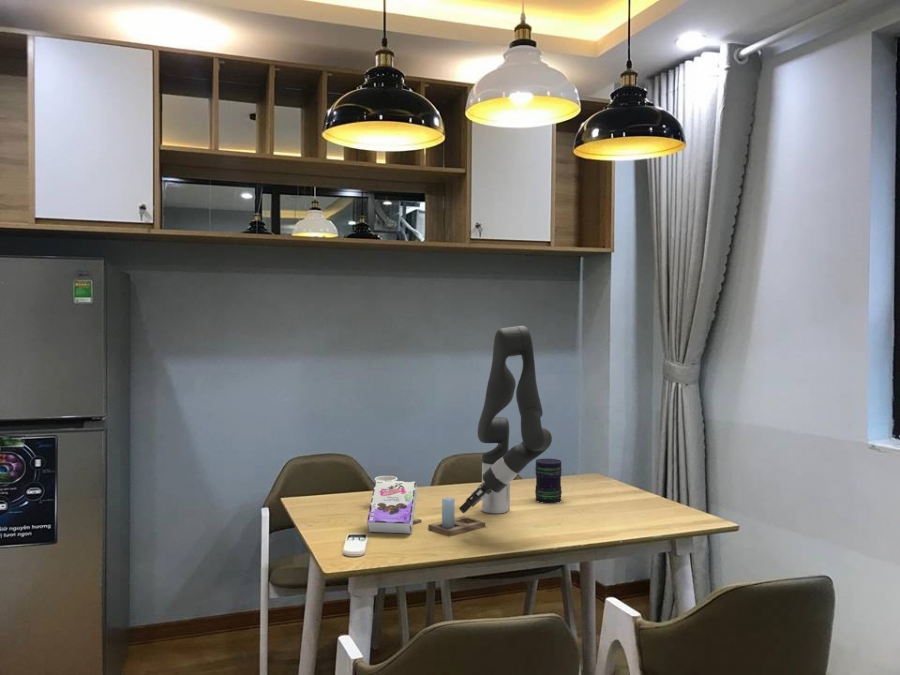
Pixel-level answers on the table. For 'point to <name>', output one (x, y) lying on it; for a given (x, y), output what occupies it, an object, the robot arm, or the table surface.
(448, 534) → the socket board
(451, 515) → the blue pin
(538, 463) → the storage jar
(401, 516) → the candy box
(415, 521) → the strip
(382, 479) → the dixie cup
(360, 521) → the table surface
